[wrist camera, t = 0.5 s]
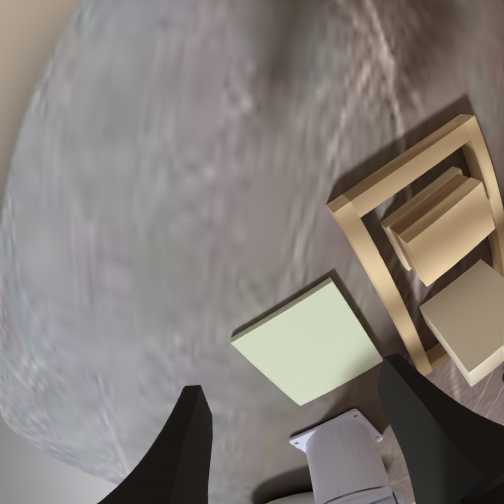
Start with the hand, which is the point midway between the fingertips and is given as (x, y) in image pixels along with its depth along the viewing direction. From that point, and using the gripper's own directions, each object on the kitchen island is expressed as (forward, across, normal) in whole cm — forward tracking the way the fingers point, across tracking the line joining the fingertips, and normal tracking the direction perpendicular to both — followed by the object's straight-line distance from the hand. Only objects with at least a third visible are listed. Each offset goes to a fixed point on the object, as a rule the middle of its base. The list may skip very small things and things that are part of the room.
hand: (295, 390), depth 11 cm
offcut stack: (+10, -12, -2) cm, 16 cm away
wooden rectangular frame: (+10, -14, +2) cm, 17 cm away
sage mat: (+10, -3, +8) cm, 13 cm away
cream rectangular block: (+10, -15, +5) cm, 19 cm away
